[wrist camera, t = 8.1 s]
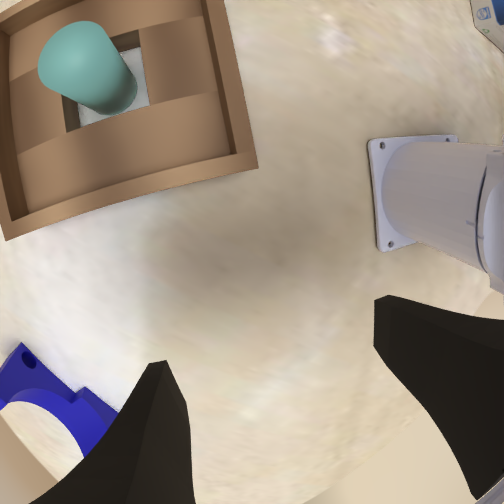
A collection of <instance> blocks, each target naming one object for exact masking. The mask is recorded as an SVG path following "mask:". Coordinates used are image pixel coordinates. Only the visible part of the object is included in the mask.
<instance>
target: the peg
mask: <svg viewBox="0 0 504 504" xmlns="http://www.w3.org/2000/svg"><path fill="white" fill-rule="evenodd" d="M38 75H39V78H40V80H41V82H42V83H43V84H44V85H45V86H46V87H48V88H49V89H51V90H54V91H56V92H58V93H60V94H62V95H64V96H66V97H68V98H70V99H72V100H74V101H76V102H78V103H80V104H82V105H84V106H86V107H88V108H90V109H92V110H94V111H96V112H98V113H100V114H102V115H115V114H118V113H120V112H122V111H124V110H125V109H126V108H127V107H129V105H130V104H131V103H132V102H133V100H134V98H135V96H136V92H137V83H136V80H135V77H134V76H133V74H132V73H131V71H130V70H129V68H128V67H127V65H126V63H125V62H124V60H123V59H122V57H121V56H120V54H119V53H118V51H117V49H116V48H115V46H114V45H113V43H112V42H111V40H110V39H109V37H108V35H107V34H106V32H105V31H104V29H103V28H102V27H101V26H100V25H98V24H96V23H94V22H91V21H79V22H75V23H72V24H69V25H67V26H65V27H63V28H62V29H60V30H59V31H57V32H56V33H55V34H54V35H53V36H52V37H51V38H50V39H49V40H48V42H47V43H46V44H45V46H44V48H43V49H42V52H41V54H40V57H39V60H38Z"/></svg>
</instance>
